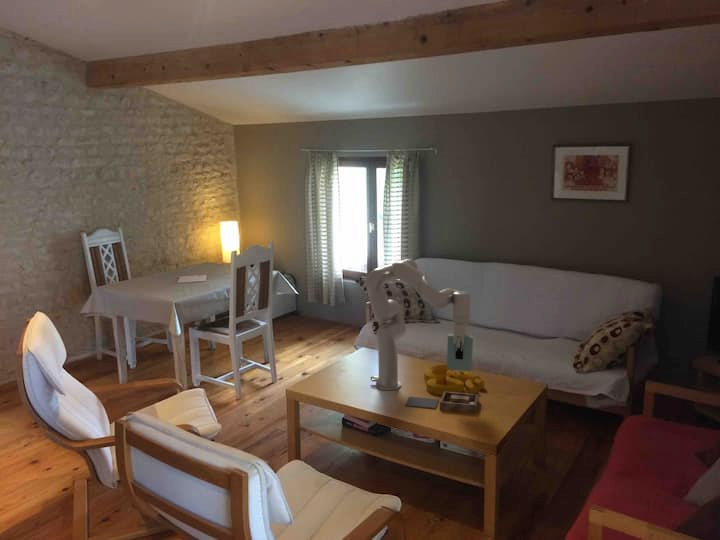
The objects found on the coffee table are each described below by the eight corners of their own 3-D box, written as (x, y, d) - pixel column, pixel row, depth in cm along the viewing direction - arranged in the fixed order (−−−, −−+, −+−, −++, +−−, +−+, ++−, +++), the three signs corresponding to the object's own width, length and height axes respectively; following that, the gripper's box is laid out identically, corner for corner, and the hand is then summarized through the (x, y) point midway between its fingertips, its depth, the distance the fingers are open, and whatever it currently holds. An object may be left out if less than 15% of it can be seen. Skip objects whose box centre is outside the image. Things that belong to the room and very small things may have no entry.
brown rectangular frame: (439, 409, 275) (439, 402, 274) (443, 398, 287) (443, 391, 286) (475, 413, 271) (475, 405, 270) (478, 401, 283) (478, 394, 282)
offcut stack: (449, 408, 277) (449, 397, 276) (450, 405, 280) (450, 394, 279) (474, 410, 274) (474, 400, 273) (474, 407, 277) (474, 397, 276)
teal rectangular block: (446, 369, 279) (447, 335, 276) (447, 366, 282) (448, 333, 279) (470, 371, 276) (472, 337, 273) (471, 369, 279) (473, 335, 276)
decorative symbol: (426, 363, 321) (484, 366, 315) (426, 372, 322) (484, 375, 316) (420, 384, 292) (484, 387, 286) (420, 394, 293) (484, 398, 287)
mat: (404, 406, 279) (404, 404, 279) (409, 397, 289) (409, 396, 289) (435, 409, 275) (435, 407, 275) (438, 400, 285) (438, 399, 285)
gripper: (455, 313, 283) (453, 351, 287) (450, 323, 268) (448, 362, 271) (471, 314, 281) (469, 352, 285) (467, 324, 266) (465, 364, 269)
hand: (459, 357), depth 278 cm, fingers closed on teal rectangular block, 3 cm apart
